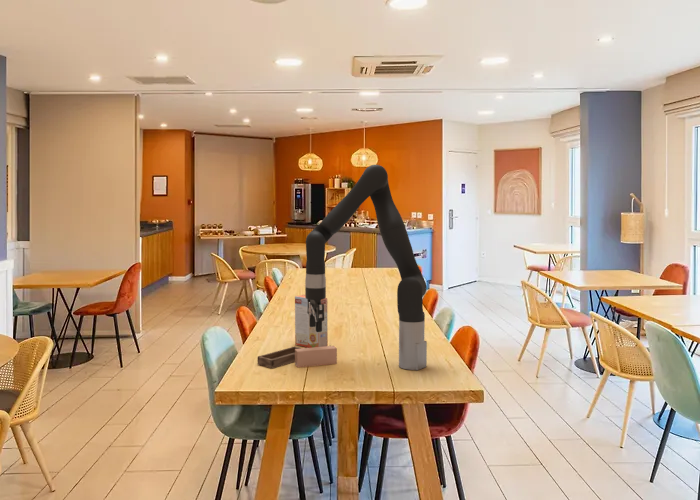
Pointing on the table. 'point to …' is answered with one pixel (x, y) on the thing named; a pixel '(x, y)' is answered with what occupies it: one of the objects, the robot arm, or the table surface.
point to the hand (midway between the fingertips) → (315, 329)
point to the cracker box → (303, 331)
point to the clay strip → (315, 356)
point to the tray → (278, 358)
